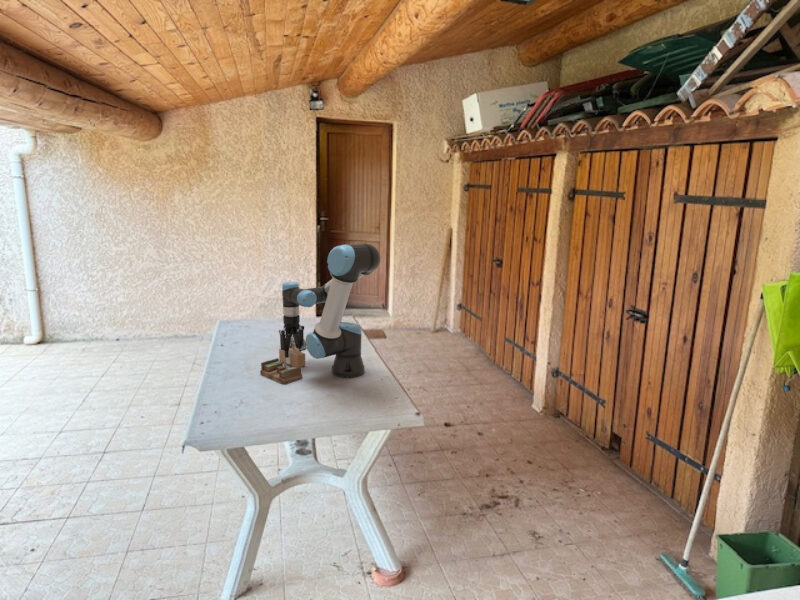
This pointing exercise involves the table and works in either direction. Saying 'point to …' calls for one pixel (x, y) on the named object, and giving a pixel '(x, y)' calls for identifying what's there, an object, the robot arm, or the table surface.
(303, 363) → the tan rectangular block
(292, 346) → the rock
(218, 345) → the table surface
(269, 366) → the stand
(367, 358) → the table surface
